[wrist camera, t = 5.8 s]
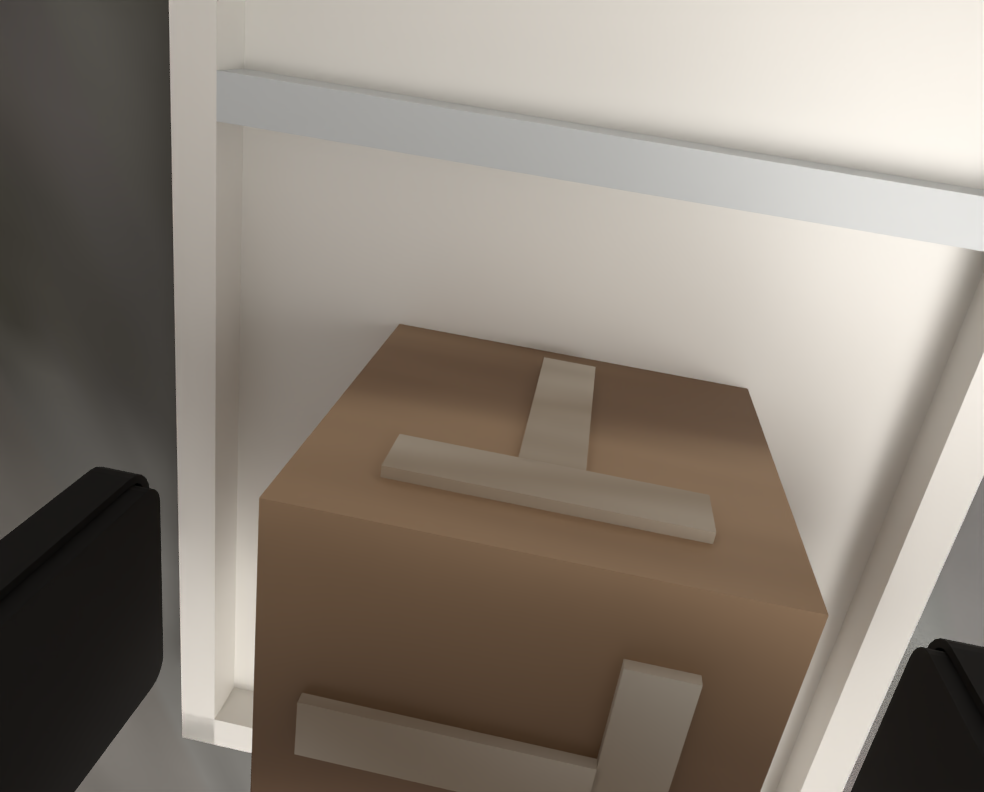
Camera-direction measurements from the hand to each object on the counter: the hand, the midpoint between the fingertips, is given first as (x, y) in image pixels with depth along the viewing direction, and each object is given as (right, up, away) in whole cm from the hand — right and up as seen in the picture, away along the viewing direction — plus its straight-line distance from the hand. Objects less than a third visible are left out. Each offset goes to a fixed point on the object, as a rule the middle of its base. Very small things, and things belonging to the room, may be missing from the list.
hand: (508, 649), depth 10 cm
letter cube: (+1, +1, +3) cm, 3 cm away
